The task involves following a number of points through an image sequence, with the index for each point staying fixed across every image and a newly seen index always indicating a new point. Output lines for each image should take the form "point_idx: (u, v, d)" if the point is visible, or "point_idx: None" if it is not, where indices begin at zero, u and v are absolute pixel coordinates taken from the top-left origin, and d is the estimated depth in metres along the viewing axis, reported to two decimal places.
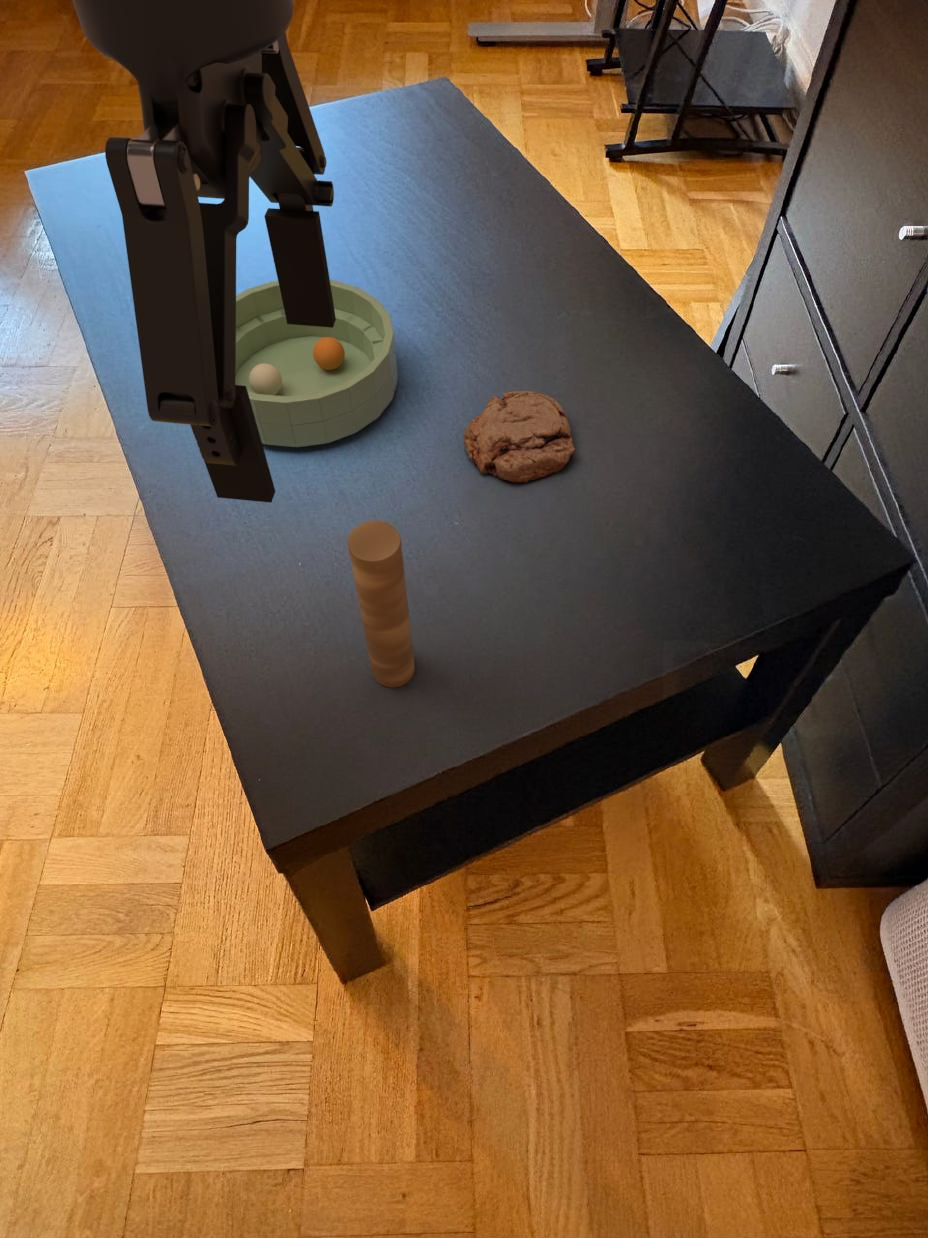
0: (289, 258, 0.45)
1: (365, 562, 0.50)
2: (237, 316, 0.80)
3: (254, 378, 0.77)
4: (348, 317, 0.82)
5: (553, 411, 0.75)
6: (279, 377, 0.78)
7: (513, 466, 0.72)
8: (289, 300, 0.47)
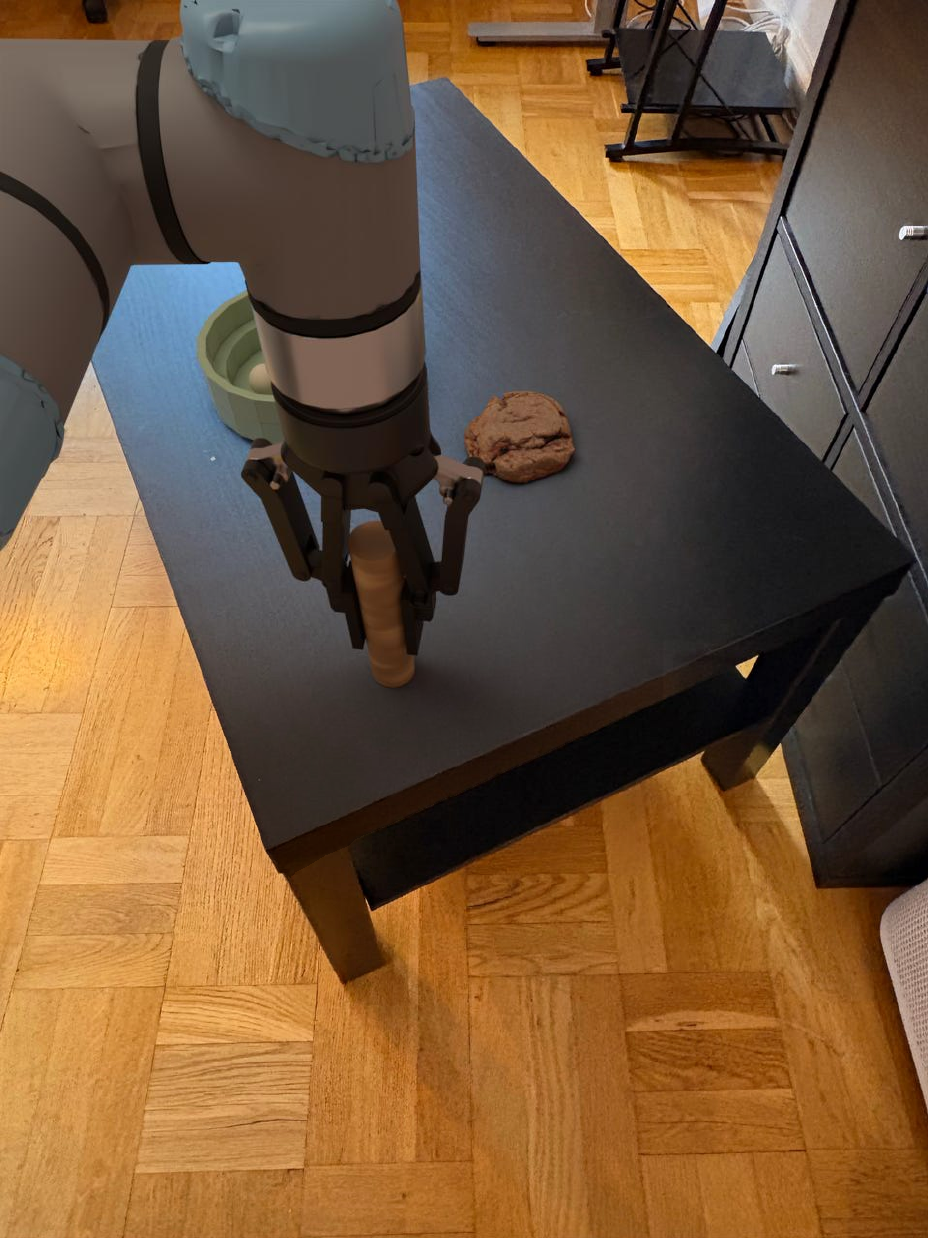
0: None
1: (365, 562, 0.50)
2: (237, 316, 0.80)
3: (254, 378, 0.77)
4: None
5: (553, 411, 0.75)
6: None
7: (513, 466, 0.72)
8: (361, 632, 0.58)
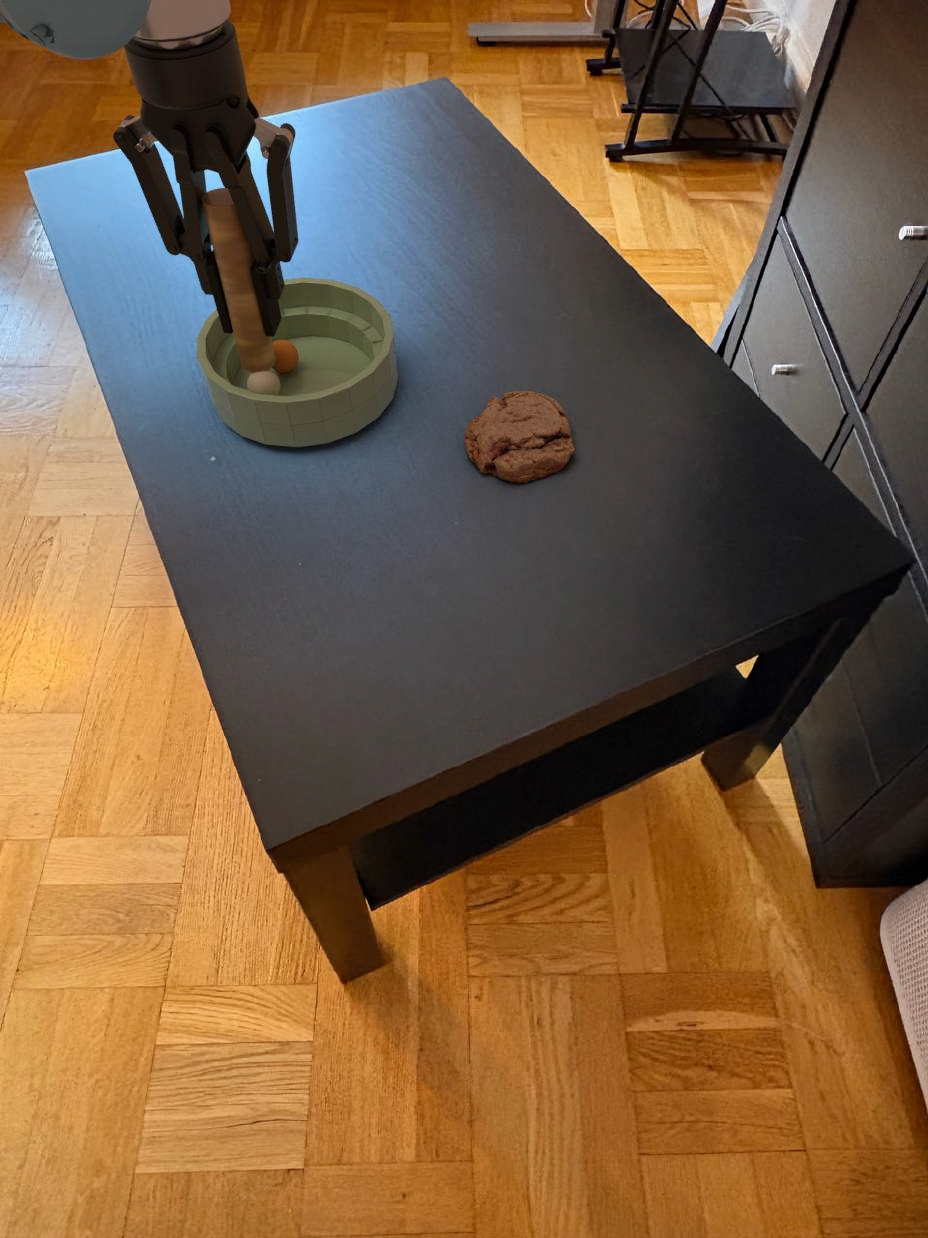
0: None
1: (213, 208, 0.65)
2: None
3: (253, 390, 0.77)
4: (348, 317, 0.82)
5: (553, 411, 0.75)
6: (277, 384, 0.77)
7: (513, 466, 0.72)
8: None
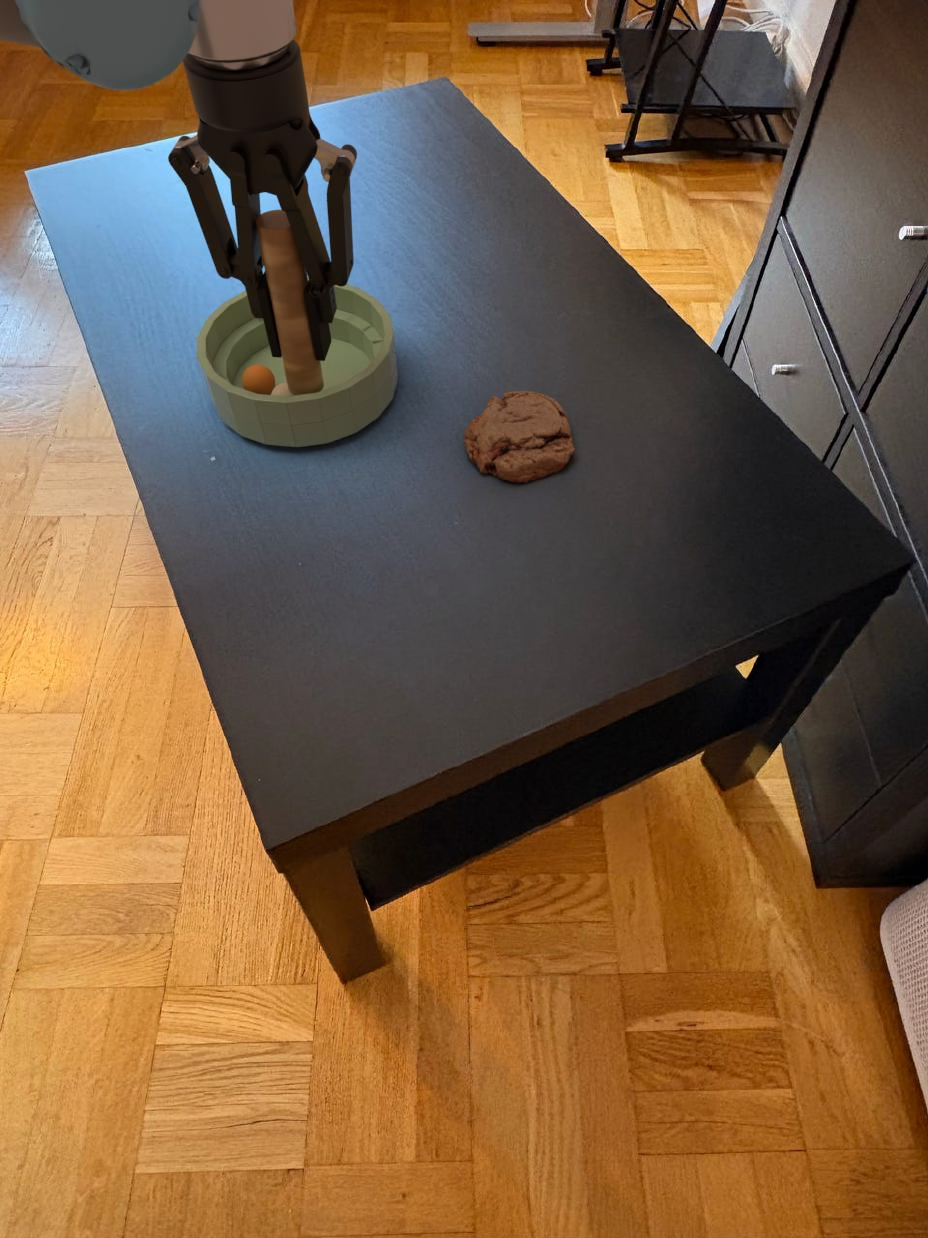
0: None
1: (268, 231, 0.63)
2: (237, 316, 0.80)
3: None
4: (348, 317, 0.82)
5: (553, 411, 0.75)
6: None
7: (513, 466, 0.72)
8: None
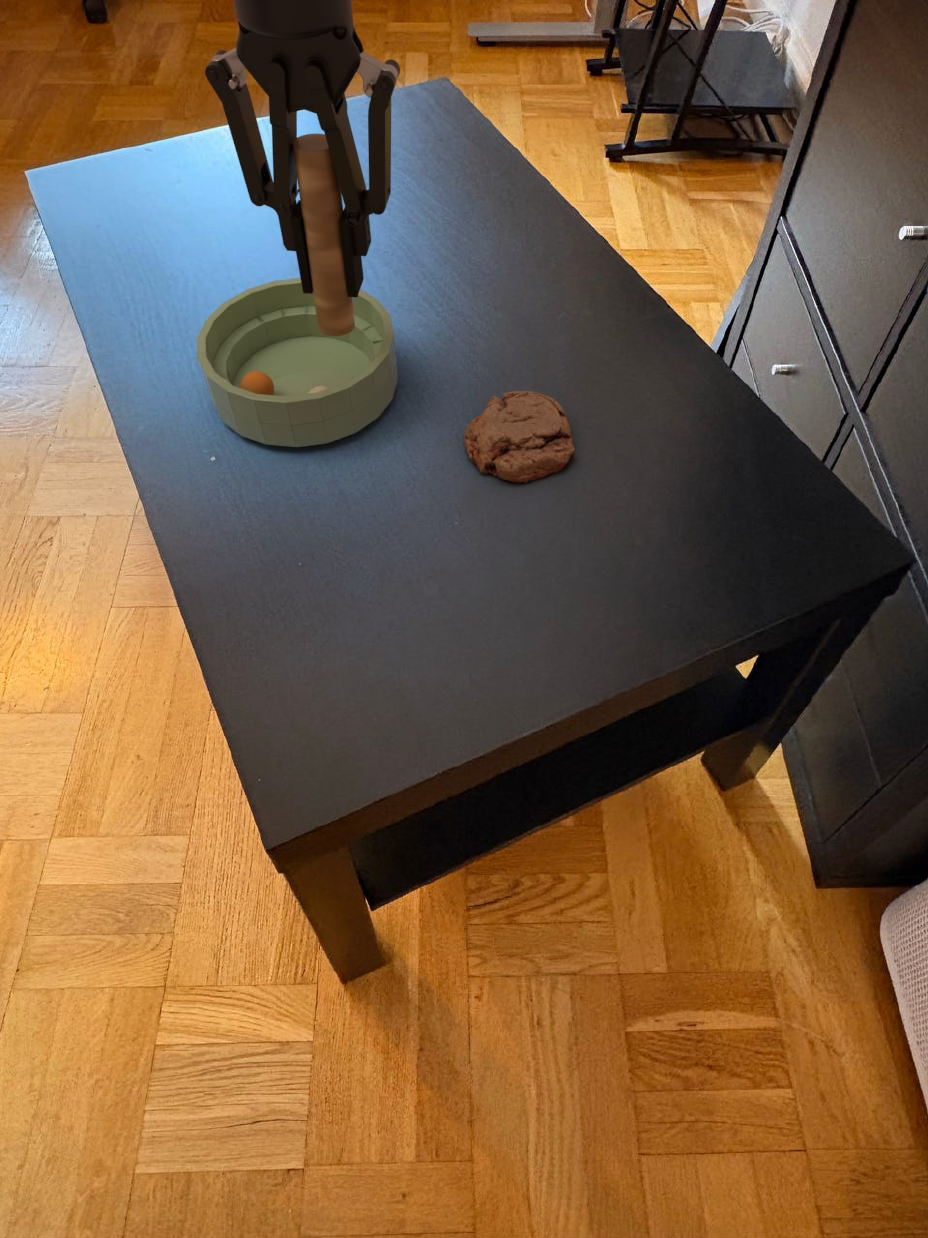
0: None
1: (306, 153, 0.61)
2: (237, 316, 0.80)
3: None
4: None
5: (553, 411, 0.75)
6: None
7: (513, 466, 0.72)
8: (310, 273, 0.70)
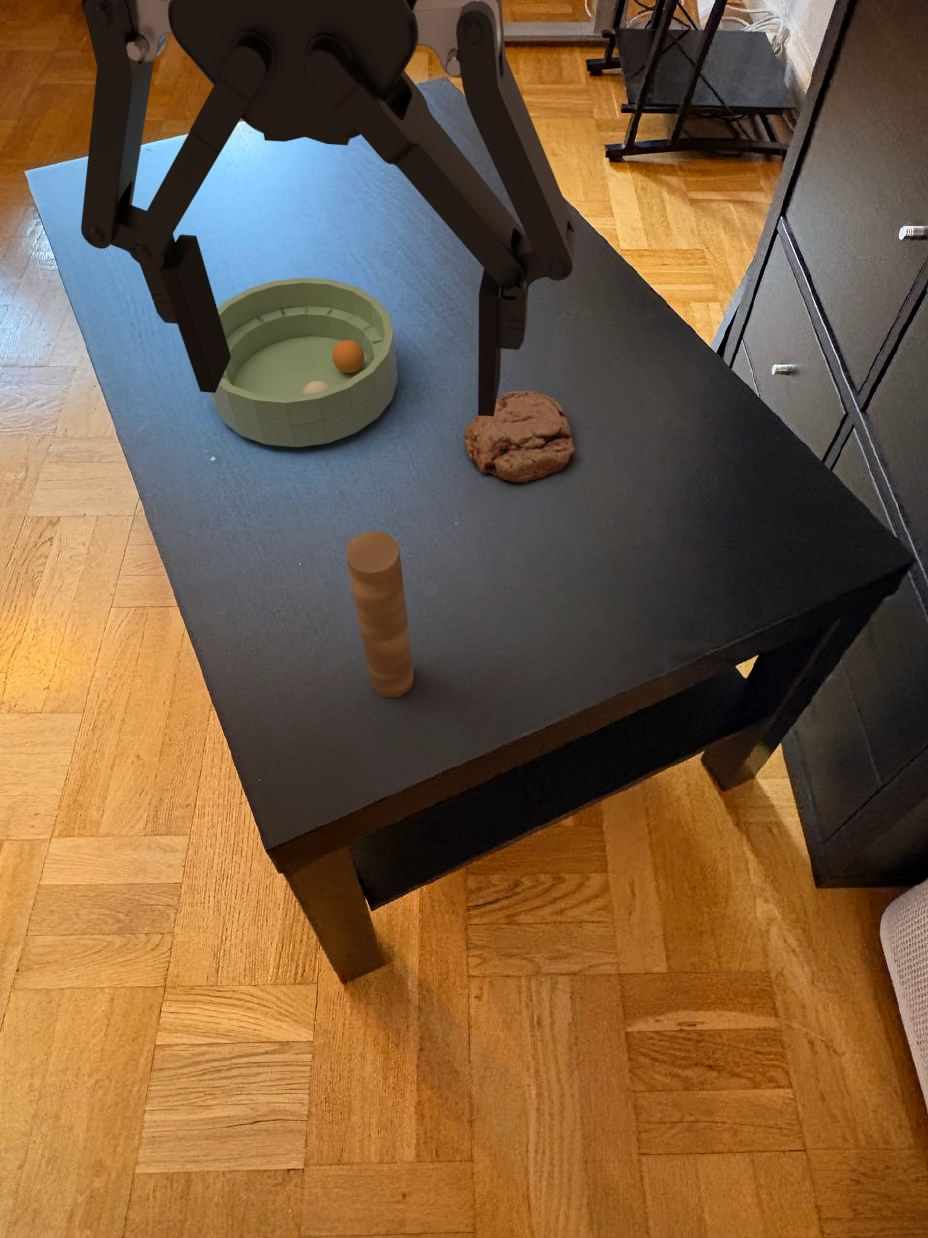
0: (198, 306, 0.38)
1: (364, 573, 0.50)
2: (237, 316, 0.80)
3: None
4: (348, 317, 0.82)
5: (553, 411, 0.75)
6: None
7: (513, 466, 0.72)
8: (209, 360, 0.40)
